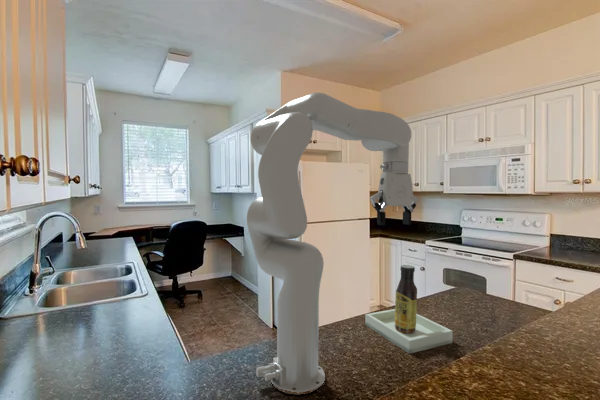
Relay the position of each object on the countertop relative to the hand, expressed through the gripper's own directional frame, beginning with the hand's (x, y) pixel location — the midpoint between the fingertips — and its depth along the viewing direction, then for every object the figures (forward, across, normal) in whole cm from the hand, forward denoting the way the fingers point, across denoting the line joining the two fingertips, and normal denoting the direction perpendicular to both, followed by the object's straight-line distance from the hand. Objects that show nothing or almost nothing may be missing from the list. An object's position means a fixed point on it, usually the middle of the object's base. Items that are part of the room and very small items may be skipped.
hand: (394, 224), depth 96 cm
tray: (+33, +4, -2) cm, 34 cm away
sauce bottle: (+32, +3, -2) cm, 33 cm away
